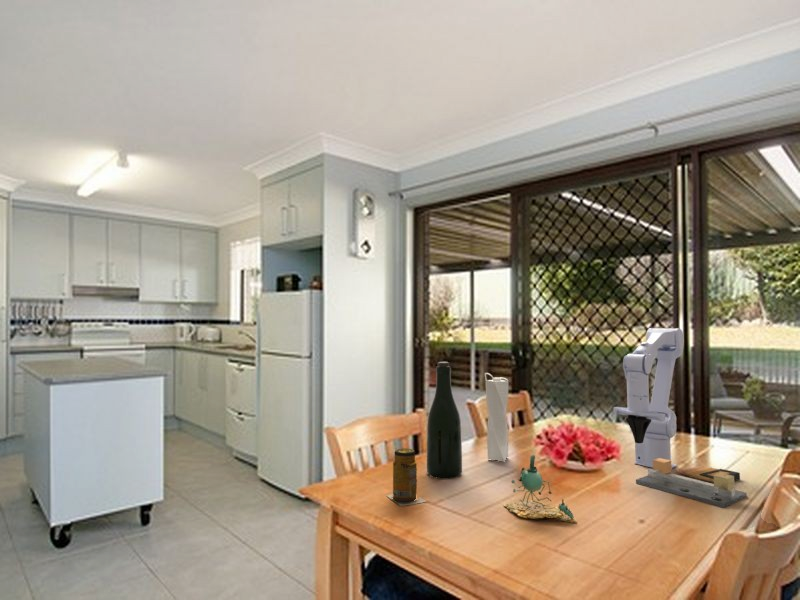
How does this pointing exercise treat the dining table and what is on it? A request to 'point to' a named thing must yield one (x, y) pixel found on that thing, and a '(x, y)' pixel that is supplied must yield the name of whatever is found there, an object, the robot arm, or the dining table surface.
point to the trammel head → (661, 467)
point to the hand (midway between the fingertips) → (639, 442)
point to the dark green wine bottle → (444, 429)
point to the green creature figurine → (533, 508)
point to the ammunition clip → (707, 473)
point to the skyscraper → (497, 418)
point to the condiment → (405, 478)
